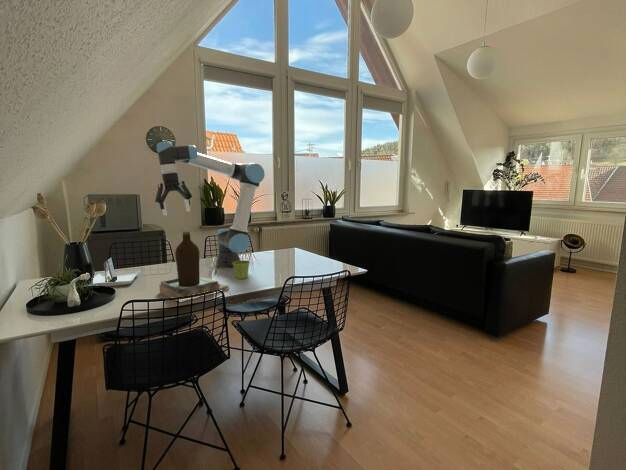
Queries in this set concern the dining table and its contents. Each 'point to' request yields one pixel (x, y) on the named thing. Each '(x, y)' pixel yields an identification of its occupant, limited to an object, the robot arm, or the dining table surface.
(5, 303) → the dining table surface
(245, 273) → the plant pot
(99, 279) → the salad plate
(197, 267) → the olive oil
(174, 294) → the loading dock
